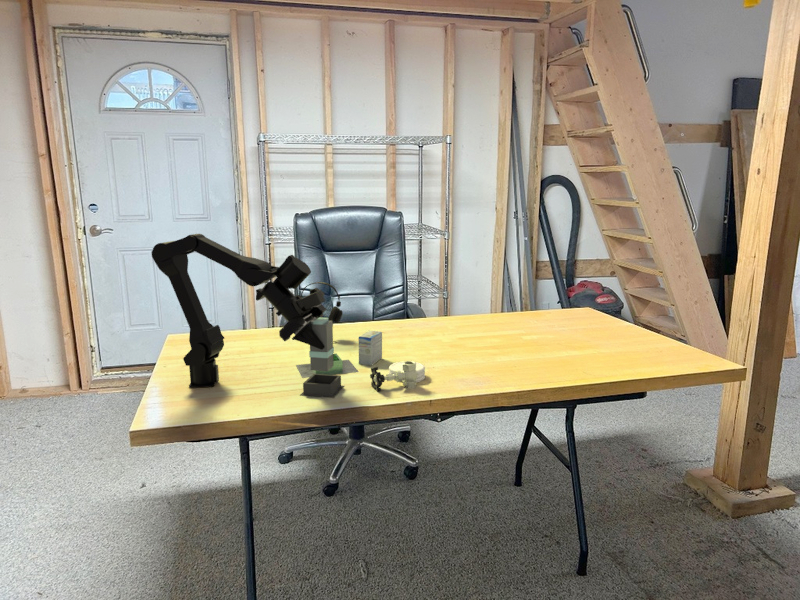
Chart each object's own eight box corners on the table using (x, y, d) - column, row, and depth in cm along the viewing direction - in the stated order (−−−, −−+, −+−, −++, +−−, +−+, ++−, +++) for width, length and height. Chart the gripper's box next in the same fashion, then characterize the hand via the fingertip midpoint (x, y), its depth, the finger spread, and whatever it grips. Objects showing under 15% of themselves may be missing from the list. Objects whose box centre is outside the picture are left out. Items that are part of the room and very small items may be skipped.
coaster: (432, 378, 156) (432, 366, 156) (406, 387, 150) (406, 374, 149) (407, 370, 164) (407, 358, 163) (381, 378, 157) (381, 366, 156)
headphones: (293, 343, 190) (290, 285, 186) (303, 335, 201) (301, 280, 197) (336, 345, 188) (334, 286, 184) (344, 336, 199) (343, 281, 195)
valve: (411, 381, 154) (370, 387, 149) (411, 358, 152) (369, 363, 148) (421, 389, 148) (378, 395, 143) (421, 365, 146) (378, 371, 142)
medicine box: (369, 357, 175) (369, 330, 174) (382, 358, 174) (382, 331, 172) (358, 364, 168) (357, 336, 167) (372, 366, 167) (371, 337, 165)
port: (302, 380, 155) (301, 367, 154) (295, 367, 166) (295, 355, 165) (358, 373, 160) (358, 361, 159) (348, 361, 171) (348, 350, 170)
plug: (309, 370, 142) (308, 321, 139) (316, 364, 147) (315, 317, 144) (328, 371, 141) (326, 322, 138) (334, 365, 146) (333, 317, 143)
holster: (299, 397, 142) (299, 384, 141) (312, 385, 150) (312, 372, 150) (333, 400, 140) (333, 386, 139) (344, 387, 148) (344, 374, 148)
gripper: (289, 286, 131) (335, 334, 131) (317, 273, 149) (358, 316, 149) (259, 317, 134) (305, 364, 134) (291, 301, 152) (331, 343, 152)
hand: (326, 345), depth 142 cm, fingers closed on plug, 4 cm apart
